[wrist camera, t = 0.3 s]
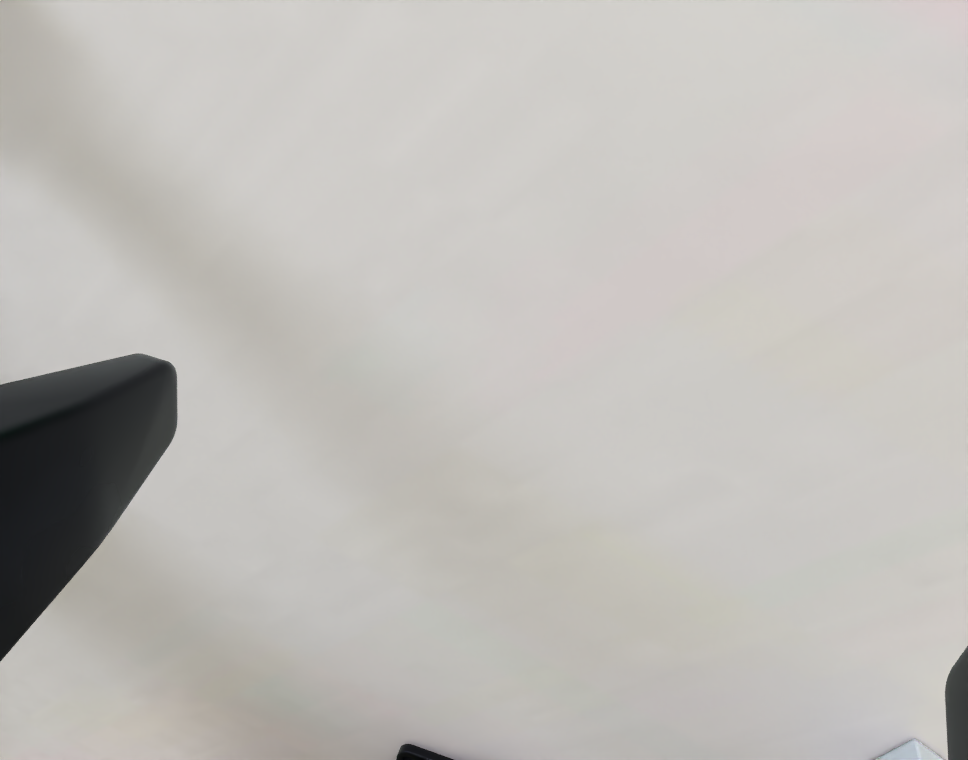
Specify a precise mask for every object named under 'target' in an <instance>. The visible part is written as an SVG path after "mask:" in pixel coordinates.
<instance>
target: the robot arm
mask: <svg viewBox="0 0 968 760" xmlns="http://www.w3.org/2000/svg"><path fill="white" fill-rule="evenodd" d="M176 427H177V374H176V370H175V367H174V366H173V365H172V364H171V363H170V362H168V361H164V360H161V359H158V358H155V357H152V356H148V355H145V354H132V355H128V356H124V357H119V358H115V359H111V360H106V361H102V362H97V363H93V364H89V365H84V366H80V367H76V368H71V369H67V370H63V371H58V372H54V373H50V374H45V375H41V376H37V377H32V378H28V379H23V380H19V381H15V382H10V383H6V384H2V385H0V661H1V660H2V659H3V658H4V657H5V655H6V654H7V653H8V652H9V651H10V650H11V648H12V647H13V646H14V645H15V644H16V643H17V642H18V640H19V639H20V638H21V637H22V636H23V635H24V633H25V632H26V631H27V630H28V629H29V628H30V626H31V625H32V624H33V623H34V622H35V621H36V619H37V618H38V617H39V616H40V615H41V614H42V612H43V611H44V610H45V609H46V608H47V607H48V605H49V604H50V603H51V602H52V601H53V600H54V598H55V597H56V596H57V595H58V594H59V593H60V592H61V590H62V589H63V588H64V587H65V586H66V585H67V583H68V582H69V581H70V580H71V579H72V578H73V576H74V575H75V574H76V573H77V572H78V571H79V569H80V568H81V567H82V566H83V565H84V564H85V562H86V561H87V560H88V559H89V558H90V556H91V555H92V554H93V553H94V552H95V550H96V549H97V548H98V547H99V545H100V544H101V543H102V542H103V540H104V539H105V537H106V536H107V535H108V533H109V532H110V531H111V529H112V528H113V526H114V525H115V524H116V522H117V521H118V519H119V518H120V516H121V515H122V513H123V512H124V510H125V509H126V507H127V506H128V505H129V503H130V502H131V500H132V499H133V497H134V496H135V494H136V493H137V491H138V490H139V488H140V487H141V486H142V484H143V483H144V481H145V480H146V478H147V477H148V475H149V474H150V472H151V471H152V469H153V468H154V467H155V465H156V464H157V462H158V461H159V459H160V458H161V456H162V455H163V453H164V452H165V450H166V449H167V448H168V446H169V445H170V443H171V441H172V439H173V437H174V434H175V431H176ZM945 702H946V722H947V743H948V760H968V646H967V648H966V649H965V651H964V652H963V653H962V655H961V656H960V658H959V659H958V660H957V662H956V663H955V665H954V666H953V667H952V669H951V671H950V673H949V675H948V678H947V682H946V688H945ZM396 760H453V759H450V758H448V757H445V756H442V755H439V754H437V753H434V752H431V751H428V750H425V749H423V748H420V747H417V746H414V745H411V744H405V745H403V746H401V748H400V750H399V753H398V755H397V759H396Z"/></svg>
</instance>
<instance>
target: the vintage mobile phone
mask: <svg viewBox="0 0 968 760" xmlns="http://www.w3.org/2000/svg"><path fill="white" fill-rule="evenodd" d="M875 760H944V759H943V758H941V757H940V756H938V755H937V754H936V753H934V752H933V751H932V750H930V749H929V748H928V747H926V746H925V745H923V744H922V743H921V742H919V741H918V740H917V739H912V740H911V741H909V742H907V743H905V744H903V745H901V746H899V747H898V748H896V749H894V750H892V751H890V752H888V753H886V754H885V755H883V756H881V757H879V758H877V759H875Z"/></svg>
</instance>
